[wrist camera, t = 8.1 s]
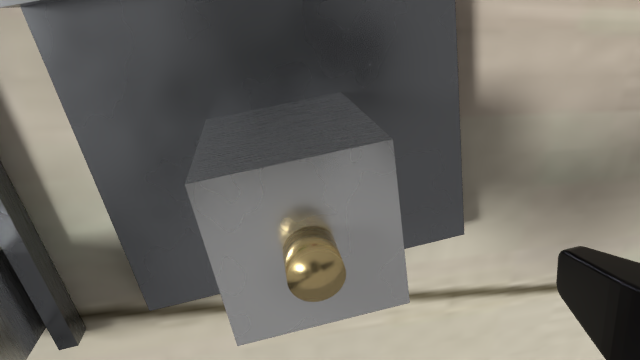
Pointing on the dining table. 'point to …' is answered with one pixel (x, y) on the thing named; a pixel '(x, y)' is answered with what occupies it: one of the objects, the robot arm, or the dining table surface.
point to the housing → (299, 215)
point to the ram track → (36, 269)
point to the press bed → (244, 104)
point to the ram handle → (16, 315)
